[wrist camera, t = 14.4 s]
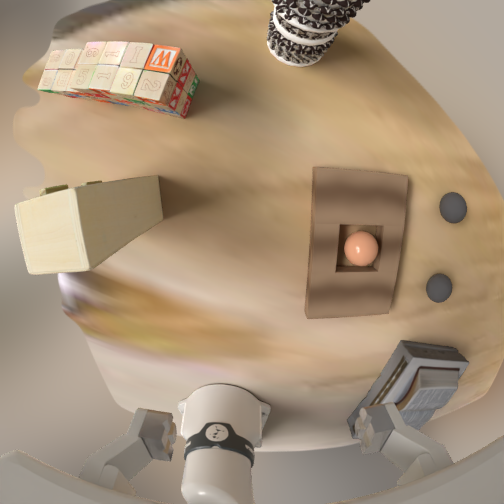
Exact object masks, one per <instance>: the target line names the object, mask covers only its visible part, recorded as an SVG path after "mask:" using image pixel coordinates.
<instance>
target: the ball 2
mask: <svg viewBox="0 0 504 504" xmlns="http://www.w3.org/2000/svg"><path fill="white" fill-rule="evenodd" d="M440 212H441V215H442V216H443V218H444V219H445V220H446V221H448V222H450V223H458V222H460V221H462V220H463V219H464V217H465V215H466V212H467V206H466V202H465V200H464V198H463V197H462V196H461V195H459V194H458V193H454V192H451V193H447V194H446V195H444V196H443V198H442V199H441V202H440Z"/></svg>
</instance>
